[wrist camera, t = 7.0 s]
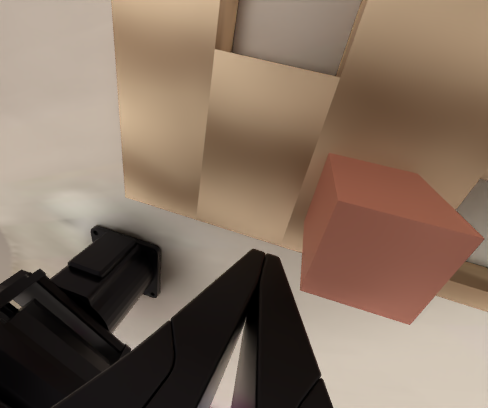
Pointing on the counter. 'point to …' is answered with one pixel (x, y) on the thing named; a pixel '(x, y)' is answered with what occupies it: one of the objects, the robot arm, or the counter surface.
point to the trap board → (299, 114)
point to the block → (381, 239)
